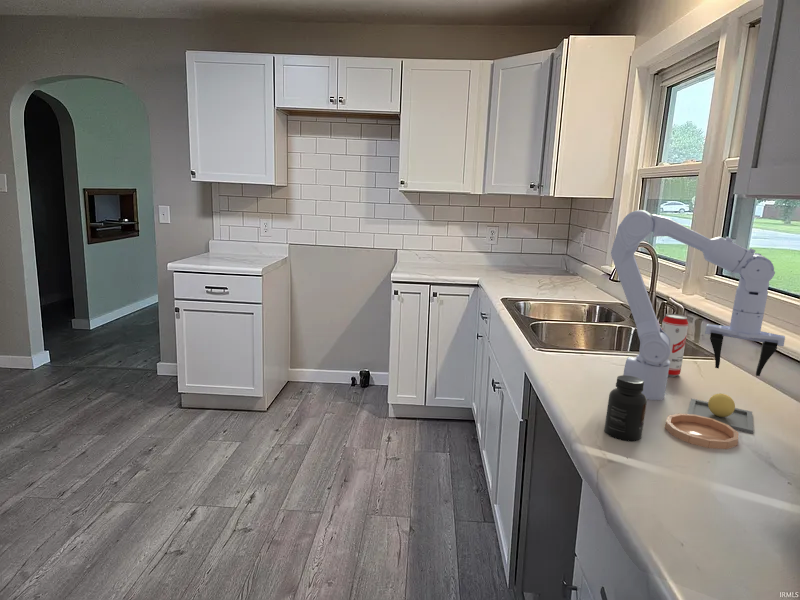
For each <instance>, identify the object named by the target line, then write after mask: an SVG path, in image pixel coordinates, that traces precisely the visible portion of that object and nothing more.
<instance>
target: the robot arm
mask: <svg viewBox="0 0 800 600" xmlns="http://www.w3.org/2000/svg"><path fill="white" fill-rule="evenodd" d="M651 232H653V234H652V237H669V238H670V239H671V238H672V239H674V240H676V241H677V242H680V243H681V244H685V245H687V246H689V247H691V248H694V249H696V250H698V251H700V252H702V254H703V259H704V260H705V261H707V262H709V263H711V264H713V265H715V266H717V267H719V268H721V269H724V270H726V271H728V272H730V273H732V274H739V276H740V277H739V280H738V284H737V285H738V286H737V287H736V289H735V294H734V301H733V302H734V303H733V308H732V312H731V317H730V323H729V325H719V324H711V323H707V324H706V325H705V332H704V334H705V335H710V336H709V340H710V343H711V346H712V349H713V354H714V360H715V361H714V363H715V365H714V368H715V369H720V368H719V367H720V364H721V353H722V348H723V341H724V337H727V338H734V339H739V340H746V341H752V342H759V343H762V344H761V351H760V354H759V355H760V356H759V360H758V363H757V366H756V371H755V376H756V377H757V376H758V377H761V373H762V371H763V370H764V367H765V366H766V364H767V362H768V361H769V359H770V358H771V357H772V356H773V355H774V353H776V351H777V349H778V346H779V347H784V346H785V342H786V341H785V340H786V336H785V335H783V334H776V333H772V332H771V333H770V332H766V331H761V330H762V325H763V319H764V315H765V311H766V310H765V309H766V305H767V301H768V294H769V292H768V289H769V287H770V281H771V280H772V279H773V278H774V276H775V274H776V271H775V266H774V264H773V262H772V260H770V259H769V258H767V257H766V256H763V255H762V253H759V252H758V253H757V252H756V249H754V248H749V249H748V248H746V247H743V246H742V245H739V244H738V243H735V242H733V241H734V239H733V238H731V237H729V236H726V237H722V236H717V237H713V238H709V237H707V236H705V235H703V234H701V233H699V232H697V231H695V230H693V229H691V228H689V227H687V226H685V225H683V224H682V223H679V222H677V221H675V220H673V219H671V218H669V217H665V216H661V215H658V214H655V213H653V214H651V213H650V212H648V211H647V210H643V209H637V210H633V211H630V212H628V214H626V215H625V217H624V218H623V219H622V221H620V224H619V225H618V226H617V229H616V234H615V237H614V240H613V243H612V247H611V250H610V255H611V256H610V257H611V259H612V261H613V264H614V266H615V270H616V273H617V275H618V278H619V282H620V283H621V286H622V287H621V288H622V290H623V293H624V295H625V297H626V300H627V303H628V307H629V309H630V311H631V316H632V317H633V320H634V323H635V326H636V327H635V328H636V333H637V336H638V339H639V351H638V353H639V354H638V353H637V354H636V356H635V357H633V356H627V358H626V360H625V364H624V368H623V374H622V375H627V376H633V377H637V378H640V379H642V380H643V381H644V386H643V391H642V392H641V393H643V394H644V395H645V397H646V399H647V400H650V401H661V400H664V398H665V395H668V394H667V393H666V389H667V383H668V377H669V376H668V372H669V366H670V361H669V360H668V358H669V355H670V339H669V336H668V335H667V334H666V333H665V332H664V331H663V330H662V329H661V328H662V325H661V324H660V322H659V320H658V317H657V315H656V312H655V309H654V307H653V304H652V301H651V298H650V296H649V293H648V290H647V288H646V284H645V281H644V278H643V277H642V274H641V271H640V268H639V265H638V263H637V259H636V256H635V252H636V251H637V250H638V247H639V246H640V244H641V242H642V241H644V240H645V239H646V238H647V237H648V236H649V235H650V234H651Z"/></svg>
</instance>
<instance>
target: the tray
mask: <svg viewBox="0 0 800 600" xmlns="http://www.w3.org/2000/svg"><path fill="white" fill-rule="evenodd" d="M708 402H709V401H705V400H700V399H695V398H690V402H689V405H688V410H687V413H686V414H694V415H699V416H703V417H708V418H712V419H715V420H717V421H720V422H722V423H725V424H727V425H729V426H731V427H732V428H733V429H734V430H736V431H740V432H744V433H749V434H753V433H754V420H753V419H754V418H753V411H752V410H746V409H742V408H737V407H735V410H734V412H733V413H732V414H731V415H729V416H727V417H719V416H716V415H714V414H713V413H712V412H711V411H710V409H709V407H708Z"/></svg>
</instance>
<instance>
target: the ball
mask: <svg viewBox="0 0 800 600" xmlns="http://www.w3.org/2000/svg"><path fill="white" fill-rule="evenodd" d="M707 402H708V407H709V409H710V411H711V412H712V413H713V414H714V415H716V416H719V417H727V416H729V415H731V414H732V413H733V412H734V410H735V408H736V404H735V403H736V402H735V401H734V399H733V398H732V397H731V396H729V395H728V394H725V393H716V394H713V395H711V397H710V398H709V400H708V401H707Z"/></svg>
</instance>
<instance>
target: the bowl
mask: <svg viewBox="0 0 800 600" xmlns="http://www.w3.org/2000/svg"><path fill="white" fill-rule="evenodd" d="M664 429H665V431H667V432H668V433H669V434H670V435H671V436H673V437H675V438H676V439H679V440H681V441H684V442H686V443H688V444H692V445H694V446H699V447H703V448H707V449H717V450H718V449H719V450H729V449H731V448H732V449H733V448H735V447H738V443H739V432H738V430H735V429H733V428H732V427H731V426H729V425H727V424H725V423H722V422H720V421H717V420H715V419H712V418H708V417H703V416H699V415H694V414H687V413H680V412H679V413H674V414H670V415H667V417H666V421H665V426H664Z"/></svg>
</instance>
